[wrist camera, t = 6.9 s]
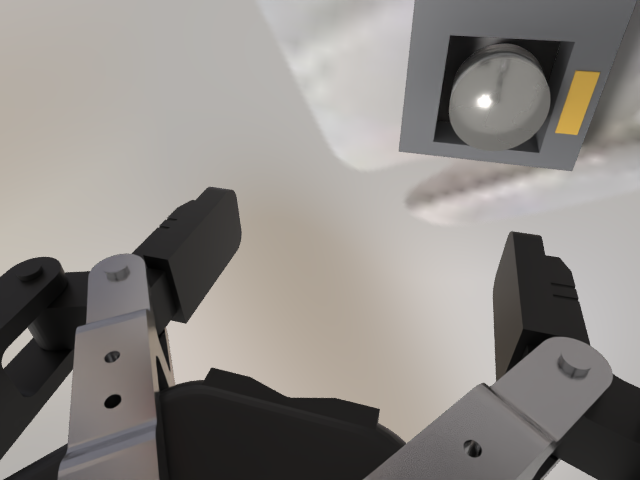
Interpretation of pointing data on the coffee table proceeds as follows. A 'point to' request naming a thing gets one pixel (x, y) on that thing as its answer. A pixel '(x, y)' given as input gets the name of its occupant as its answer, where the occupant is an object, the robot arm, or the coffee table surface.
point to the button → (499, 98)
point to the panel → (517, 23)
